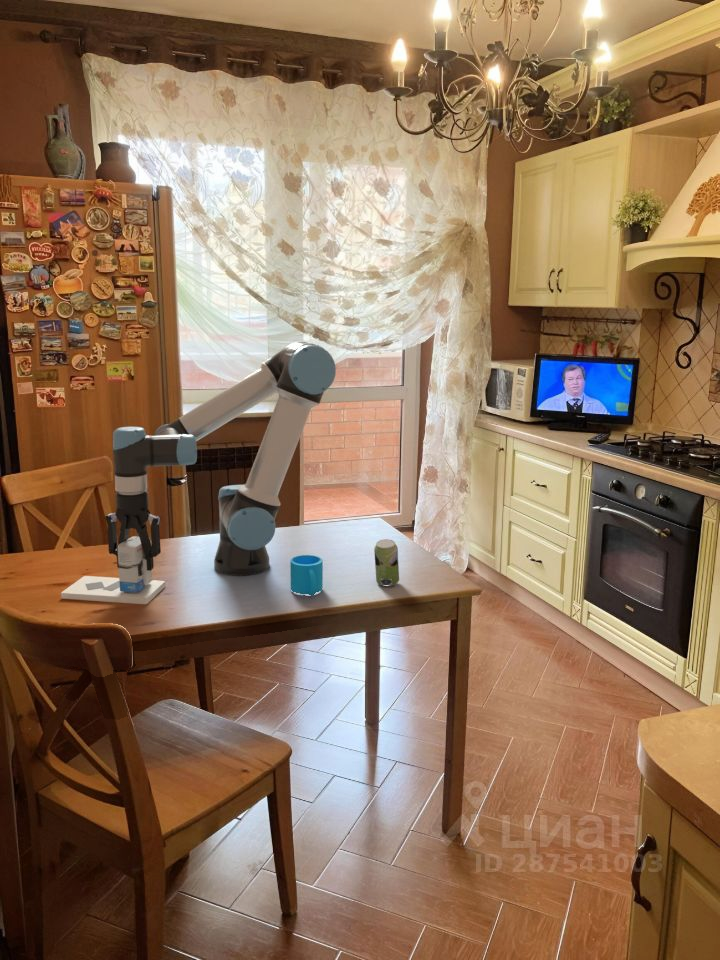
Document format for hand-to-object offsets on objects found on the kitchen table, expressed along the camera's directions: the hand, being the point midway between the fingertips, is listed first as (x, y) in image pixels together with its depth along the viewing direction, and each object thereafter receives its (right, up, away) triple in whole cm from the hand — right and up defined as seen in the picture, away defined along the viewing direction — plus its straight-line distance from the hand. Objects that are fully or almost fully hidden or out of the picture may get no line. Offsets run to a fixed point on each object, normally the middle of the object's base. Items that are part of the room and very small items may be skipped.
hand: (136, 581), depth 189 cm
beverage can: (+63, -2, +10) cm, 64 cm away
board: (-6, -3, +2) cm, 7 cm away
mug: (+43, -4, +3) cm, 43 cm away
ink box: (0, -1, 0) cm, 2 cm away
